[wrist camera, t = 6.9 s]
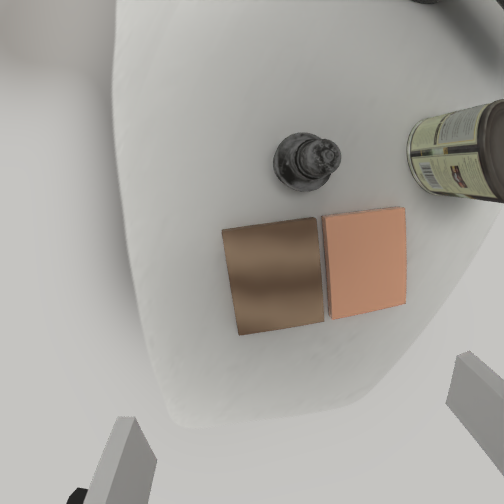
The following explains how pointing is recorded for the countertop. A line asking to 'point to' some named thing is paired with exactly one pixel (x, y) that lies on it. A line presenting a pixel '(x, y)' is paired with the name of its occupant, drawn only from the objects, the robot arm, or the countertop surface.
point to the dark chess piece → (306, 161)
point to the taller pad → (365, 260)
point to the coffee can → (461, 153)
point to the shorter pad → (275, 275)
